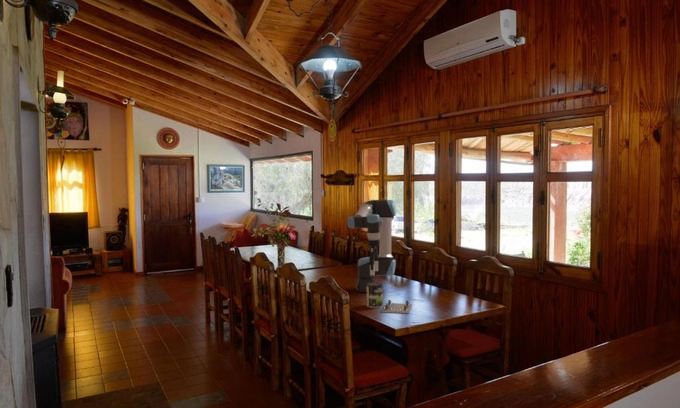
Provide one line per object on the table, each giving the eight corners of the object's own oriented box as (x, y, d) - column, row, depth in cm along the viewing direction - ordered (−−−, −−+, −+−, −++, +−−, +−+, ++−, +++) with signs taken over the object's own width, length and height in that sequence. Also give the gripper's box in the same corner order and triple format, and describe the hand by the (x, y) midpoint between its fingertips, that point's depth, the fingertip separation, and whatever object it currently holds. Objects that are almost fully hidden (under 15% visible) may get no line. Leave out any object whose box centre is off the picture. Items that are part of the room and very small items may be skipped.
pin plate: (386, 305, 314) (386, 299, 313) (411, 306, 310) (411, 300, 310) (382, 312, 298) (382, 305, 298) (409, 313, 294) (409, 306, 294)
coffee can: (386, 306, 312) (386, 283, 311) (373, 308, 306) (373, 286, 305) (375, 302, 321) (375, 281, 320) (363, 305, 315) (362, 283, 314)
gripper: (371, 236, 324) (371, 269, 325) (363, 241, 300) (364, 276, 301) (382, 236, 322) (383, 269, 323) (376, 242, 298) (376, 277, 299)
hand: (374, 273), depth 312 cm, fingers open, 13 cm apart
